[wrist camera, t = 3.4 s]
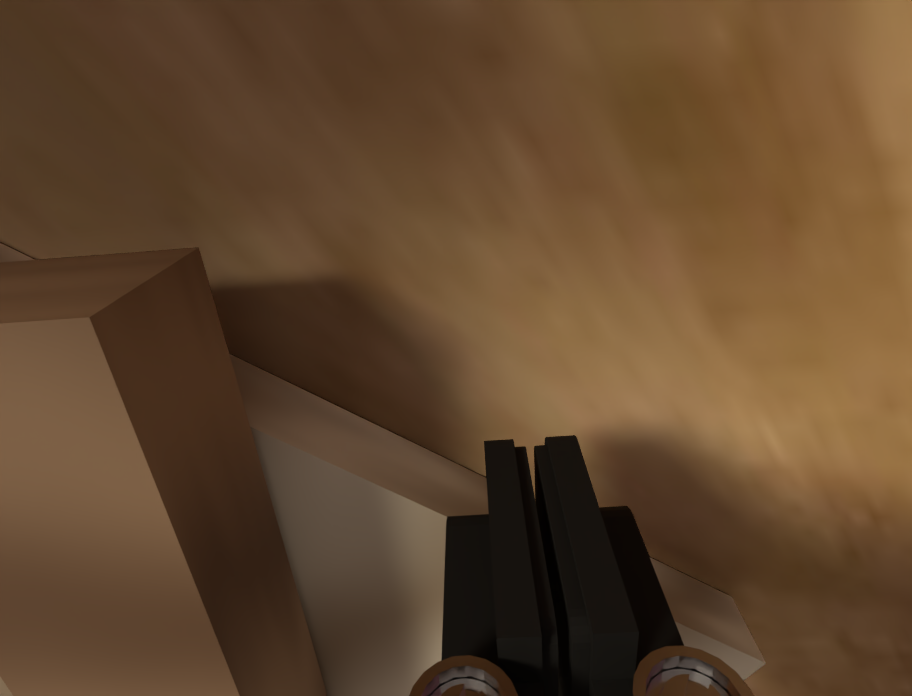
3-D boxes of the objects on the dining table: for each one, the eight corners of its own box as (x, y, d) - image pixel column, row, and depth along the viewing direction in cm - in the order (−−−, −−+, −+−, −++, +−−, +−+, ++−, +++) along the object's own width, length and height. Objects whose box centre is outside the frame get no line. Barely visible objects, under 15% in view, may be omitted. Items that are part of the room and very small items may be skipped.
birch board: (732, 597, 16) (766, 663, 14) (382, 898, 24) (375, 964, 23) (-739, -115, 9) (-1033, -163, 7) (-519, 644, 18) (-631, 709, 16)
